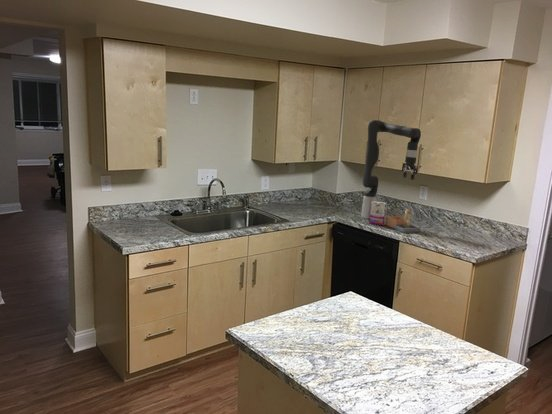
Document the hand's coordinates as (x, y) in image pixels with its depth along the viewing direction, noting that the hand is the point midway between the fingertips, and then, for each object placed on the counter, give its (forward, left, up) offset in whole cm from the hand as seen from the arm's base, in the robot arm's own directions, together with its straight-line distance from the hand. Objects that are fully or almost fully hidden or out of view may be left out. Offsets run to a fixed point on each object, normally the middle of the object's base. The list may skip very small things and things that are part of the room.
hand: (408, 178), depth 331 cm
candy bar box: (-8, -17, -36) cm, 40 cm away
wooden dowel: (+13, -7, -34) cm, 37 cm away
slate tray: (+13, -7, -35) cm, 38 cm away
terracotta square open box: (+2, -7, -35) cm, 36 cm away
